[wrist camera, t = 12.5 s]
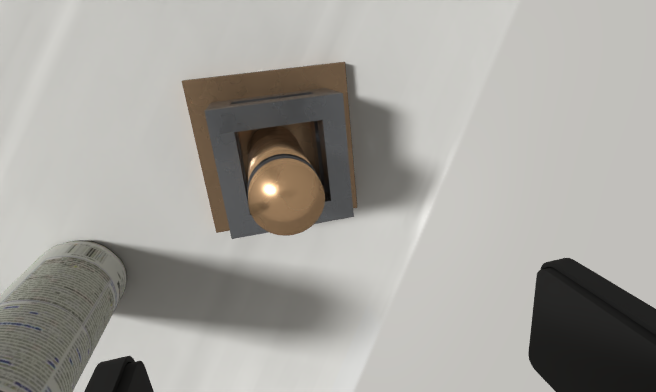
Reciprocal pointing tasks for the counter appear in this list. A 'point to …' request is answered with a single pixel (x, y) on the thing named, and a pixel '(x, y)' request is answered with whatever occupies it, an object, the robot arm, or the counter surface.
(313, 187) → the copper tube
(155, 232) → the counter surface
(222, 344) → the counter surface
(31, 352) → the spray can
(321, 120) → the collar stand
